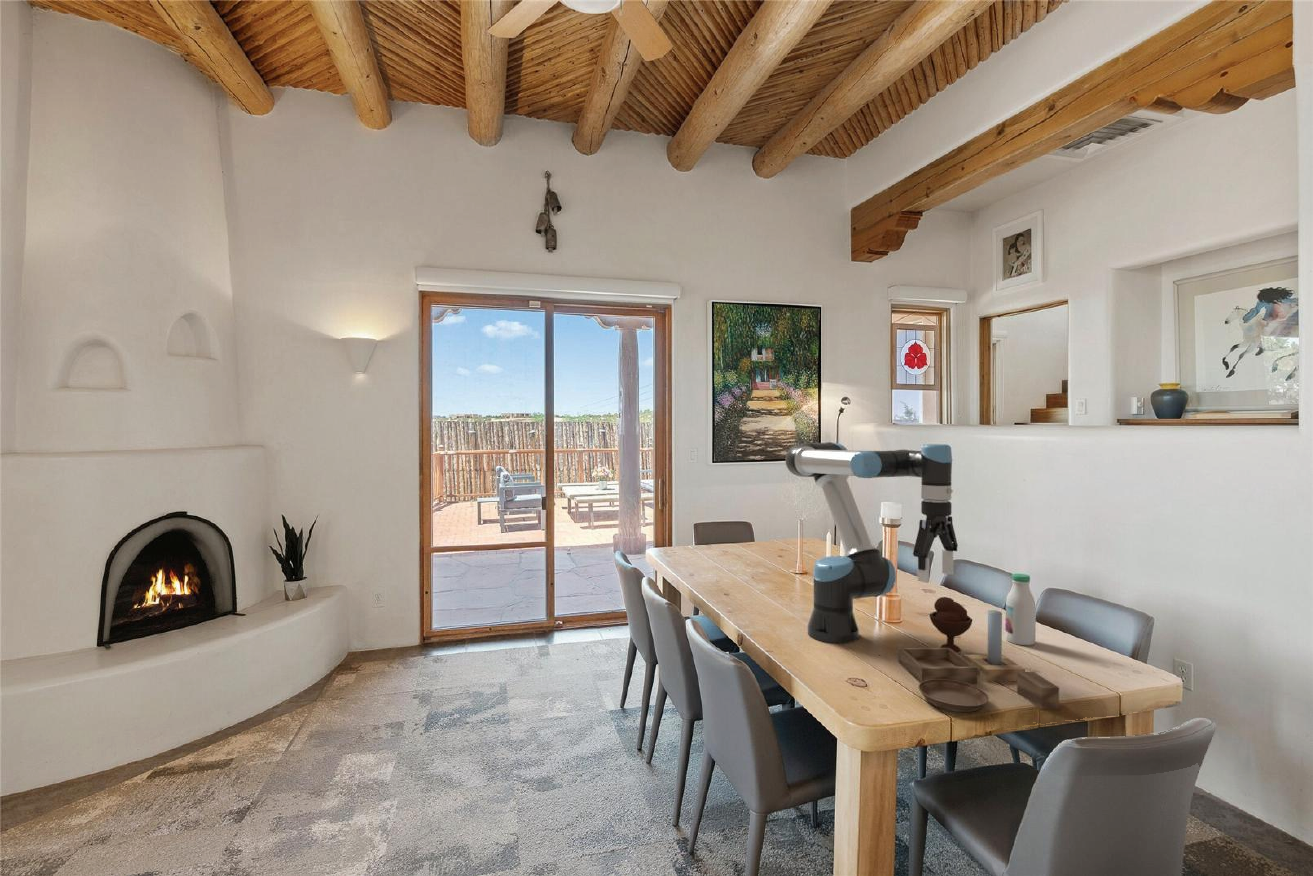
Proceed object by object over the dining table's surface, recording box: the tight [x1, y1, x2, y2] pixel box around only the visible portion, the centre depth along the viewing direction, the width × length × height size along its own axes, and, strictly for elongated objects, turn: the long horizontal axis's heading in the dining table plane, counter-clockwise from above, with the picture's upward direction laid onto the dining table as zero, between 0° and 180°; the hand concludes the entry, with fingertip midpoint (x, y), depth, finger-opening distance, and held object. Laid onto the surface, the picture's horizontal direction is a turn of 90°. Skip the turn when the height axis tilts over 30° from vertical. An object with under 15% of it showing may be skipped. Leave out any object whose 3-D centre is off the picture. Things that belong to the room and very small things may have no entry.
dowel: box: [986, 609, 1003, 665], centre depth 160 cm, size 3×3×16 cm
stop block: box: [1016, 671, 1060, 711], centre depth 144 cm, size 4×9×5 cm, turn 1°
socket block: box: [964, 654, 1026, 682], centre depth 160 cm, size 10×10×3 cm
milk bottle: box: [1004, 573, 1037, 646], centre depth 183 cm, size 8×8×20 cm
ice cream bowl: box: [929, 596, 973, 654], centre depth 177 cm, size 11×11×15 cm
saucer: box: [918, 679, 990, 713], centre depth 144 cm, size 15×15×3 cm
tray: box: [898, 647, 978, 685], centre depth 160 cm, size 14×14×4 cm
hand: (935, 577), depth 169 cm, fingers open, 13 cm apart
